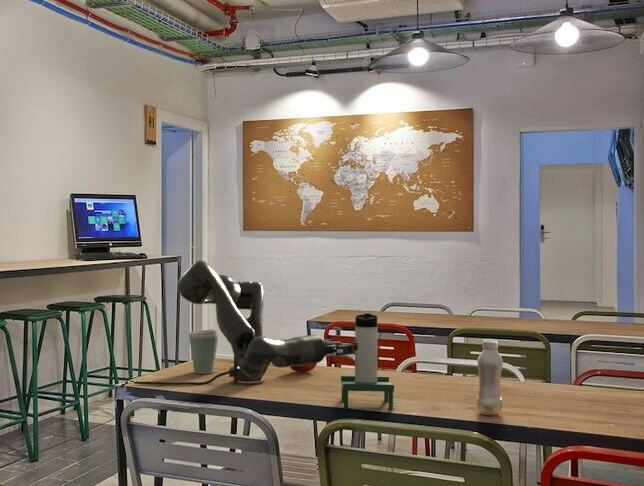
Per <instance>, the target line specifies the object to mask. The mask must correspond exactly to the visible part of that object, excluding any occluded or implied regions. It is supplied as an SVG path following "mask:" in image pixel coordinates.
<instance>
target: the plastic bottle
mask: <svg viewBox="0 0 644 486" xmlns="http://www.w3.org/2000/svg"><path fill="white" fill-rule="evenodd" d="M482 348H483V350H482V351H481V353H480V354H479V355H478V357H477V371H478V390H477V391H478V393H477V397H476V403H475V407H476V411H477V412H478V413H479V414H482V415H486V416H496V415H500V413H501V412H502V409H503V401H502V394H501V375H502V370H503V365H504V361H503V357H502V355H501V354H500V353H499V351H498V349H499V347H498V341H497V340H491V339H490V340H487V339H486V340H483V341H482Z"/></svg>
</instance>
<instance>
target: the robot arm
mask: <svg viewBox="0 0 644 486" xmlns="http://www.w3.org/2000/svg"><path fill="white" fill-rule="evenodd" d="M176 288H177V291H178V293H179V295H180V296H181V297H182V298H183V299H185V300H186V301H187V302H189V303H191V304H194V305H209V304H210V305H215V315H216V316H215V317H216V323H217V326H218V328H219V330H220V332H221V333H222V335H223V336H224V338H225V339H226V341H227V342H228V343H229V344H230V346H231V350H232V353H233V366H230V367H229V368H228V369H229V370H227V371H225V372H221V373H219V374H218V373H217V374H216V375H214V376H213V377H212V378H211V379H209V380H206V381H186V382H185V381H182V382H181V381H180V382H178V381H177V382H172V381H171V382H170V381H167V382H166V381H139V382H138V381H137V380H127V381H124V382H125V384H123V383H121V385H120V386H119V387H120V388H123V387H125V386H126V385H129V384H130V383H128V381H130V382H134V381H136V382H134V383H133V384H135V385H157V386H159V385H160V386H164V385H165V386H190V385H191V386H195V385H196V386H202V385H207V384H211V383H213V382H214V381H215V380H216V379H218V378H220V377H222V376H226V375H228V377H229V378H233V384H239V385H257V384H262V383H263V381H264V380H263V377H264V375H265V374H266V372H267V371H268V369H269V367H270V365H271V364H272V366H275V367H276V368H289V367H290V366H301V365H307V364H314V363H317V364H319V363H321V362H322V361H323V360H324V358H325V357H330V356H336V357H340V356H347V355H354V352H355V351H357V350H358V343H356V342H355V341H354V342H346V343H345V342H344V343H342V342H341V341H335V339H334V338H328V339H324V338H322V337H321V336H319V335H317V334H310V335H309V334H308V335H302V336H294V337H291V338H287V339H276V338H271V337H268V336H263V324H264V323H263V322H264V303H265V300H264V299H265V289H264V285H263V284H262V283H261V282H259V281H237V280H236V279H235V278H233V277H231V276H228V275H225V274H219V273H218V272H217V270H216V269H215V268H214V267H213V266H212V265H211V264H210V263H208V262H206V261H204V260H200V259H199V260H196V261H195V262H194V263H193V264H192V265H191V266H190V267H189V268H188V269H187V270H186V272H184V273H183V275H182V276H181V277H180V278H179V279H178V282H177V284H176ZM240 310H241V311H242V310H243V311H244V310H245V311H250V314H249V315H248V316H247V317H244V315H243V314H242V312H241V311H240Z"/></svg>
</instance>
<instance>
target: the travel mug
mask: <svg viewBox="0 0 644 486" xmlns="http://www.w3.org/2000/svg"><path fill="white" fill-rule="evenodd" d="M354 319H355V325H354V342H356V343H358V350H357V351H354V376H355V383H356V384H377V376H378V316H377V315H375V314H371V313H368V312H367V313H366V312H365V313H364V314H358V315H356V316H355V318H354Z"/></svg>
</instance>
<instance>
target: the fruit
mask: <svg viewBox="0 0 644 486" xmlns="http://www.w3.org/2000/svg"><path fill="white" fill-rule="evenodd" d="M317 365H318V363H314V364H307V365H301V366H289V367H290V369H291V370H292V371H293V372H295V373H303V374H304V373H308V372H311V371H313V370H314V369H315V368H316V366H317Z"/></svg>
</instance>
